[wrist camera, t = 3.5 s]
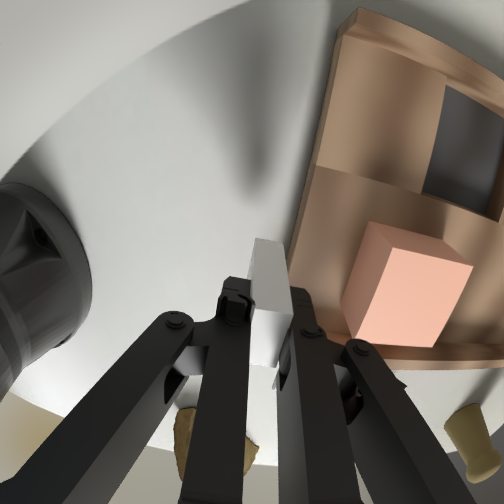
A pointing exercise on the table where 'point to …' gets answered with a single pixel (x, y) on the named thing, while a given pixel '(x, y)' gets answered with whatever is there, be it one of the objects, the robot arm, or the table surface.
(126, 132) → the table surface
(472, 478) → the cork
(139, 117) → the table surface
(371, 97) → the box
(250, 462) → the rock
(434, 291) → the block
